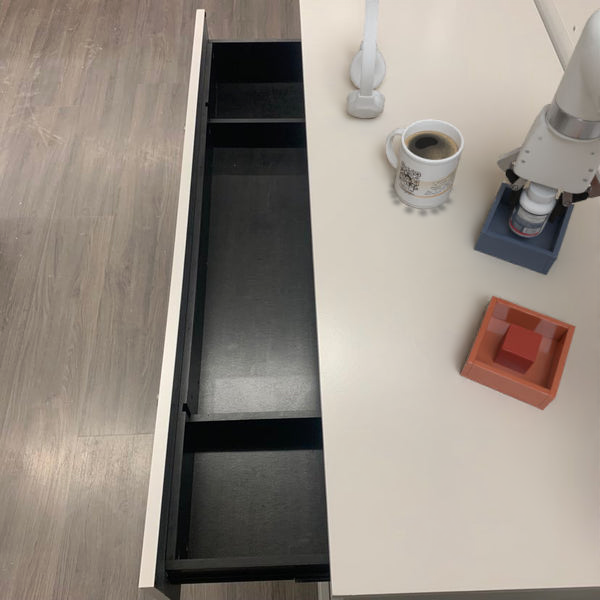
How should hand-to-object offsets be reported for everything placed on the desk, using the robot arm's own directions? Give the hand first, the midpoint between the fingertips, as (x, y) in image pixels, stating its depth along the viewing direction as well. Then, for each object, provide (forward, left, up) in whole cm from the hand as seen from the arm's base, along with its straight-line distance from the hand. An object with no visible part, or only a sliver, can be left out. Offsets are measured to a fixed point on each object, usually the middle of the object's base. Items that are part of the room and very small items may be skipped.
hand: (533, 209), depth 81 cm
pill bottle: (0, 0, -4) cm, 4 cm away
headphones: (+36, -20, -7) cm, 42 cm away
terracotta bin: (-5, +22, -7) cm, 24 cm away
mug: (+19, -4, -7) cm, 21 cm away
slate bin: (0, 0, -7) cm, 7 cm away
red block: (-5, +22, -6) cm, 23 cm away
